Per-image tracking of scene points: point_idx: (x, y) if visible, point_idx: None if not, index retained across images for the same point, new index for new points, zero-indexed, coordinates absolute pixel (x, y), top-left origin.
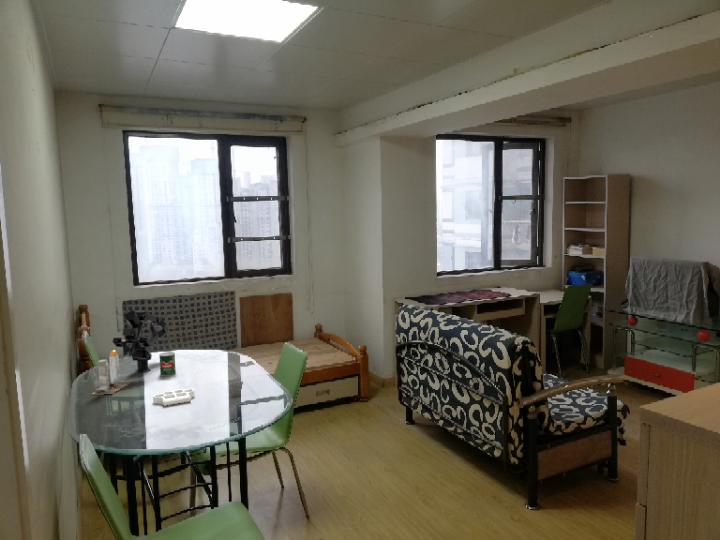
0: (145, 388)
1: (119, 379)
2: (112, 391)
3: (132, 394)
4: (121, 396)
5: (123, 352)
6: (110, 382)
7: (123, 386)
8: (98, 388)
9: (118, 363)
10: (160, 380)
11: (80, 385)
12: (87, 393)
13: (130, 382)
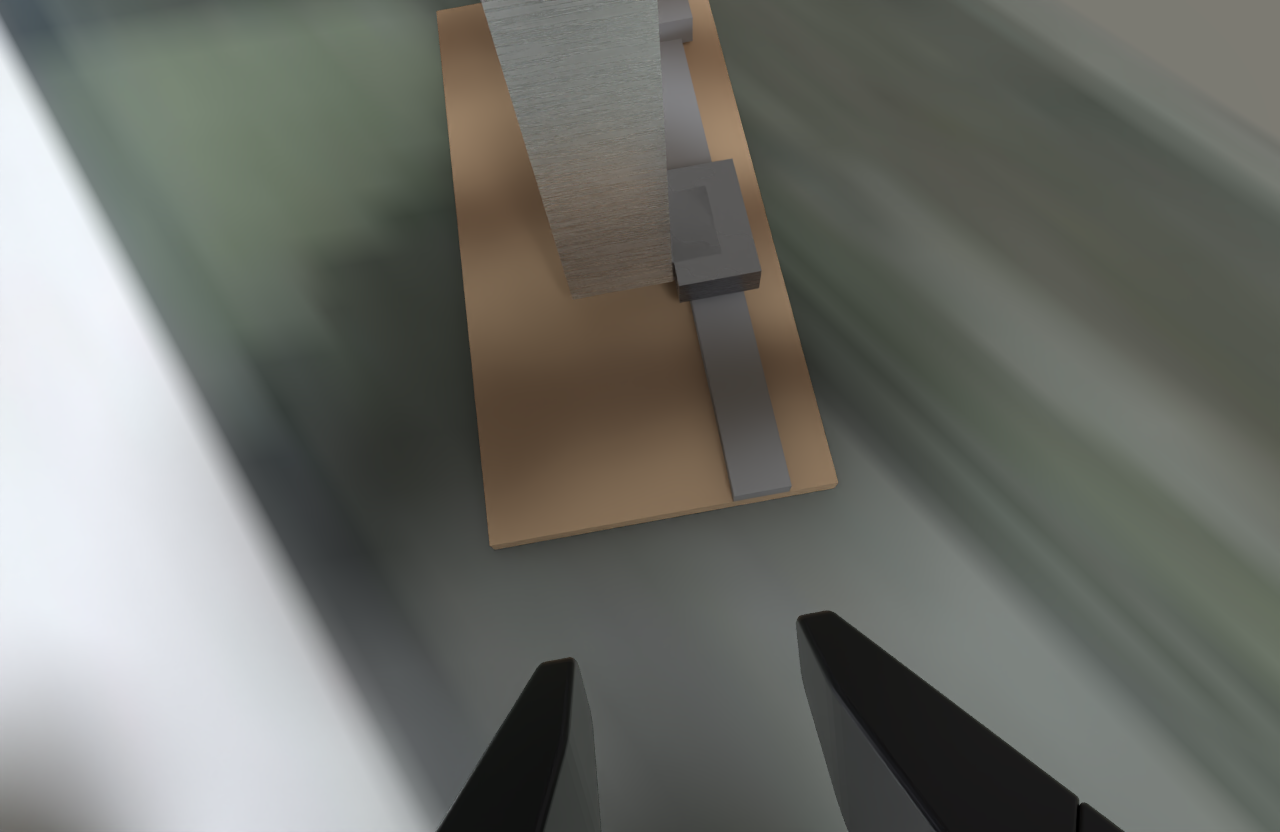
0: (124, 294)
1: (564, 267)
2: (483, 65)
3: (191, 78)
4: (291, 4)
5: (906, 674)
6: (669, 193)
7: (464, 255)
8: (677, 5)
9: (490, 29)
10: (34, 714)
11: (1258, 237)
12: (803, 2)
13: (481, 453)
